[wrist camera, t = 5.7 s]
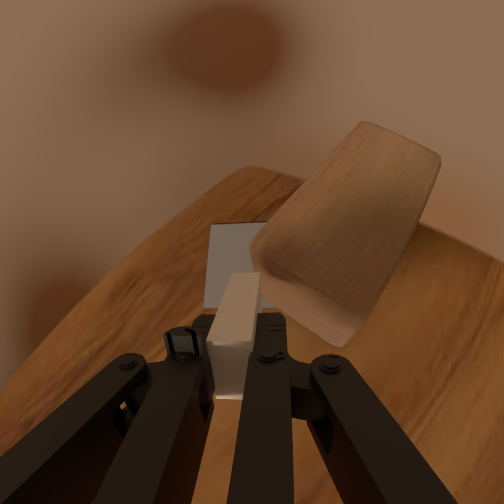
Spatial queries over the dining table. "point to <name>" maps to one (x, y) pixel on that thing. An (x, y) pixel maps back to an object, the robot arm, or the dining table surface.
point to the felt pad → (228, 259)
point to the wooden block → (345, 231)
